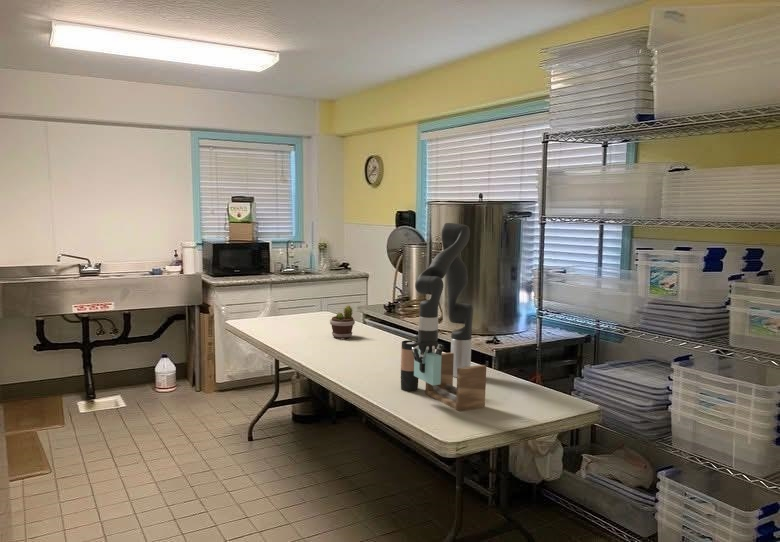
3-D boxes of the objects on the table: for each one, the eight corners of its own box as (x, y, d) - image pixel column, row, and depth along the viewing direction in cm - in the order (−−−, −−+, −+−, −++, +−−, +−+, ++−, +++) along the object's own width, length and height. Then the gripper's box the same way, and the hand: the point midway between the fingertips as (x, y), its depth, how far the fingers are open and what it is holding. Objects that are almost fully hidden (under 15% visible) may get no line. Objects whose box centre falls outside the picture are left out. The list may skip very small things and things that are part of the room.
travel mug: (403, 392, 242) (404, 344, 240) (397, 386, 250) (399, 340, 248) (420, 391, 245) (422, 343, 243) (415, 385, 252) (416, 339, 250)
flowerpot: (328, 339, 339) (328, 305, 337) (331, 334, 354) (332, 301, 352) (353, 340, 338) (353, 306, 336) (355, 335, 354) (356, 302, 352)
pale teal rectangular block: (413, 375, 232) (414, 348, 231) (421, 374, 234) (422, 347, 233) (432, 385, 220) (433, 356, 219) (440, 384, 222) (441, 355, 220)
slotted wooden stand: (425, 393, 241) (426, 355, 240) (449, 389, 247) (451, 352, 246) (459, 411, 220) (460, 369, 219) (484, 406, 226) (486, 366, 225)
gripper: (438, 324, 231) (437, 367, 233) (407, 327, 225) (406, 371, 227) (449, 328, 225) (447, 372, 227) (417, 331, 218) (416, 376, 220)
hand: (427, 371), depth 227 cm, fingers closed on pale teal rectangular block, 3 cm apart
